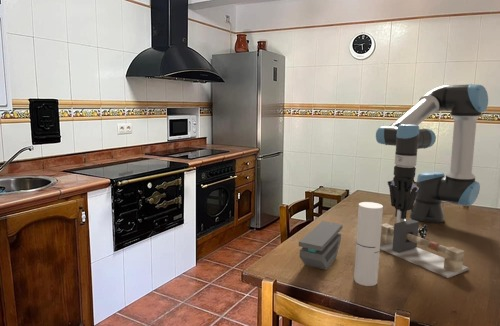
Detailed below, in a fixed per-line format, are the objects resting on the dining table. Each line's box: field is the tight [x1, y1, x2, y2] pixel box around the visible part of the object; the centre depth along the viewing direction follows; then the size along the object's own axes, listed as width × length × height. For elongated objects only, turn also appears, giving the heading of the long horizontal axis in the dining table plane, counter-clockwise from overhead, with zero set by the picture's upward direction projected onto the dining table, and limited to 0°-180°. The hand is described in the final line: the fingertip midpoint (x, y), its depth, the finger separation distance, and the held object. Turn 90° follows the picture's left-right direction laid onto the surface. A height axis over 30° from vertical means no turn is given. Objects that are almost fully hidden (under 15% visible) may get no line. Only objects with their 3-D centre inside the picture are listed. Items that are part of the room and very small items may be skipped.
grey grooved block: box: [298, 220, 343, 271], centre depth 131 cm, size 25×8×11 cm, turn 151°
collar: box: [392, 219, 420, 253], centre depth 141 cm, size 3×10×10 cm, turn 121°
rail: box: [380, 222, 470, 279], centre depth 137 cm, size 32×12×8 cm, turn 31°
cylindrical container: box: [353, 201, 384, 287], centre depth 117 cm, size 7×7×25 cm
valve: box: [404, 219, 429, 239], centre depth 158 cm, size 7×7×12 cm
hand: (399, 226), depth 143 cm, fingers closed
